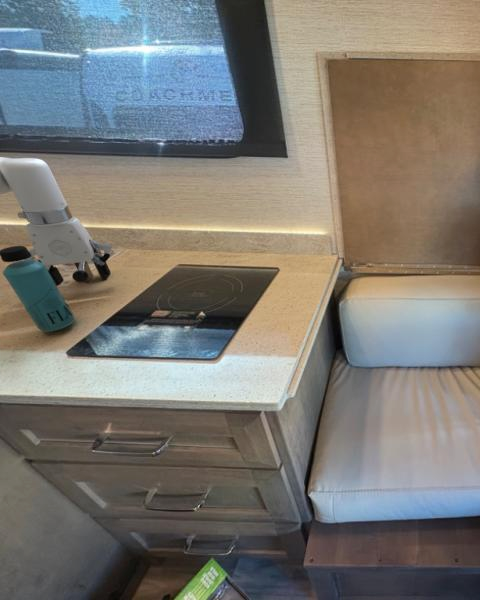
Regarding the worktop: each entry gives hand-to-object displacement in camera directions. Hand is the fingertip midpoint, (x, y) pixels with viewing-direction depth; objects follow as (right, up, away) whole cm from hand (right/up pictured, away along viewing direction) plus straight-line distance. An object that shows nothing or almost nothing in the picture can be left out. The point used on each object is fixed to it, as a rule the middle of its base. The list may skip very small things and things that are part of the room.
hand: (83, 280), depth 86 cm
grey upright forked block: (-4, 0, +9) cm, 10 cm away
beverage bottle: (+4, -12, -10) cm, 16 cm away
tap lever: (-2, +4, +3) cm, 5 cm away
